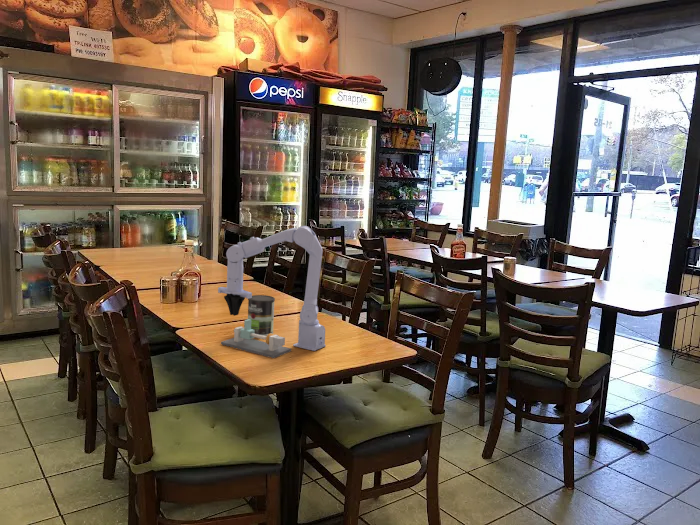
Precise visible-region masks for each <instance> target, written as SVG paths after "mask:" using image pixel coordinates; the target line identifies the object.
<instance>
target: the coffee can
mask: <svg viewBox="0 0 700 525" xmlns="http://www.w3.org/2000/svg"><path fill="white" fill-rule="evenodd" d="M247 300H248V302H247V303H248V304H247V319H251V329H253V330H255V334H258V335H262V336H267V335H268V334H269V333H271V334H274V321H275V320H274V318H275V300H276V298H275V297H274V296H271V295H266V294H265V295H263V294H255V295H252V298H249V299H247Z"/></svg>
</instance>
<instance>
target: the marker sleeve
mask: <svg viewBox="0 0 700 525" xmlns="http://www.w3.org/2000/svg"><path fill="white" fill-rule="evenodd" d="M243 325H244V326H243V327H244V329H241V333H240V338H244V339H248V340H249V339H255V337H252V336H250V333H254V334H255V330H253V329H251V319H248V318H247V319H245V320H244V322H243Z"/></svg>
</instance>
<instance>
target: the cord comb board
mask: <svg viewBox="0 0 700 525" xmlns="http://www.w3.org/2000/svg"><path fill="white" fill-rule="evenodd" d="M241 329H244V326H241V325H240V326H237V327H234V329H233V333H234V334H233V335H234V336H233V337H232V338H230V339H225V340H222V341H220V345H221V344H222V346H225V345H226V347H229V346H230V348H232V347H233V348H232V349H236V348H237V349H236V350H240V349H241V351H244V350H245V351H244V352H248V353H252V354H255V355H260V356H263V357H266V358H270V357H271V359H276V358H278V357H280V355H281V356H282V355H286V354H288V353H290V352H292V348H290V347H286V346H285V343H286V337H285V336H284V337H283V336H279V335H278V334H274V333H273V334H271V333H269V334H268V335H267V336H262V335H258V334H254V333H250V336H252V337H254V338H252V339H249V340H248V339H244V338H240V333H241ZM255 338H257V339H255ZM258 339H261V340H258ZM262 340H265V341H262Z"/></svg>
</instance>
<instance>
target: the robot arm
mask: <svg viewBox="0 0 700 525" xmlns="http://www.w3.org/2000/svg"><path fill="white" fill-rule="evenodd" d="M283 242H289V243H295V244H296V245H298V246H299V247H301V248H303V249H304V250H305V251H306V253H308V254H309V256H308V257H309V258H308V267H307V274H306V275H307V276H306V282H305V283H306V284H305V293H304V299H303V305H302V307H301V310H300V313H299V321H298V337H297V342H296V343H293V345H292V346H293V347H297V348H301V349H303V350H304V349H305V350H309V351H313V352H315V351H317V350H319V349H322V348H324V347H326V346H327V345H326V328H325V326H324V325H322V324H320V323H319V322H320V320H319V319H318V313H319V307H318V293H319V284H320V276H321V267H322V260H323V252H324V251H323V247H322V245H321V243H320V241H319V239H318V237H317V235H316V233H315V232H314V231H313V229H312V228H310V226H307V225H301V226H299V227H292V228H288V229H285V230H282V231H279V232H277V233H274V234H271V235H270V236H267V237H265V238H260V237H255V236H251V237H250V238H249V239H248V240H246V241H243V242H241V241H239V242H237V244H233V245H231V246H230V247H229V248H228V249H227V250H226V253H225V255H226V259H227V265H226V269H227V270H226V286H220V287H219V286H218V287H217V293H219V294H226V295H224V296H223V299H224V300H225V303H226V304H227V307H228V310H229V315H230V316H238V315H239V313H240V309H241V307H242V304H243V303H244V301H245V299H247V300H248V299H249V298H252V296H253V292H251V291H248V290H245V289H244V258H245V259H247V258H250V257H253V256H256V255H258V254H259V255H260V254H261V253H263V252H264V250H265V248H267V247H269V246H274V245H276V244H279V243H283Z"/></svg>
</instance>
